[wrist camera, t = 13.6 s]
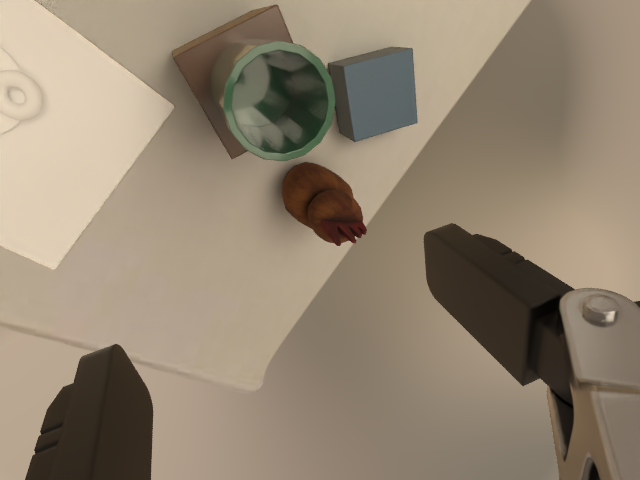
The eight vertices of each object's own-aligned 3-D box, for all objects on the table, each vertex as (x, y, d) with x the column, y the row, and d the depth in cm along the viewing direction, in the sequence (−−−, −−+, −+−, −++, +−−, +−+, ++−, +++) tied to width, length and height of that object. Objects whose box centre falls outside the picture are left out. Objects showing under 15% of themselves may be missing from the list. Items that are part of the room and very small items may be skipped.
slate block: (328, 63, 39) (343, 66, 36) (392, 46, 41) (412, 47, 37) (339, 133, 43) (354, 142, 39) (398, 116, 44) (417, 123, 41)
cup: (196, 50, 27) (207, 57, 20) (284, 29, 29) (323, 29, 21) (225, 140, 31) (243, 173, 23) (303, 118, 32) (343, 143, 25)
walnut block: (171, 51, 35) (172, 56, 27) (253, 9, 35) (277, 3, 28) (219, 134, 39) (231, 159, 31) (291, 96, 40) (321, 111, 32)
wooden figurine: (265, 194, 43) (307, 262, 31) (291, 146, 42) (345, 196, 29) (317, 217, 46) (373, 286, 34) (342, 173, 45) (411, 228, 32)
